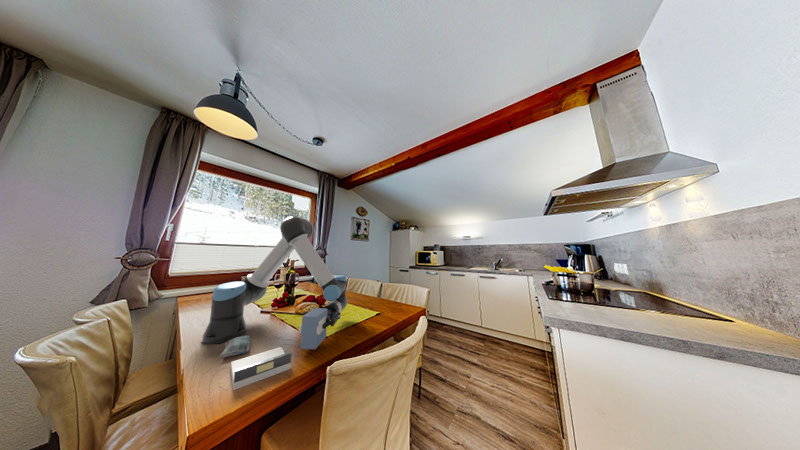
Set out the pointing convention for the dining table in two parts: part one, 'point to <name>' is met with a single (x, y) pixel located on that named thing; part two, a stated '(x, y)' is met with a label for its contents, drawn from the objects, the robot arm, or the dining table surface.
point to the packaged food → (236, 346)
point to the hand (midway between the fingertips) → (309, 329)
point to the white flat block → (259, 367)
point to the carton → (312, 328)
